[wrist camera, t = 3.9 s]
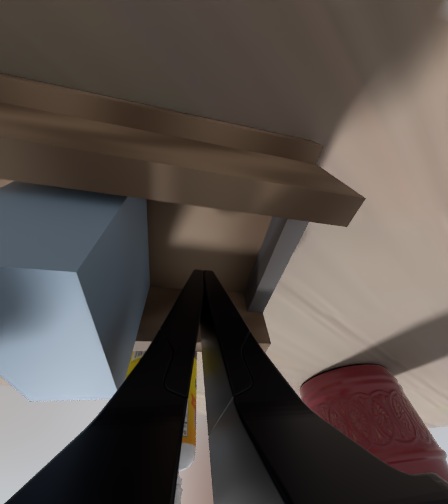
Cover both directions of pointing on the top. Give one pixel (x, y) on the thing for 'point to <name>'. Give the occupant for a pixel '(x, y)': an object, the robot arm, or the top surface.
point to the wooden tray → (178, 187)
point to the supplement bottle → (189, 425)
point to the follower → (70, 289)
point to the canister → (375, 417)
